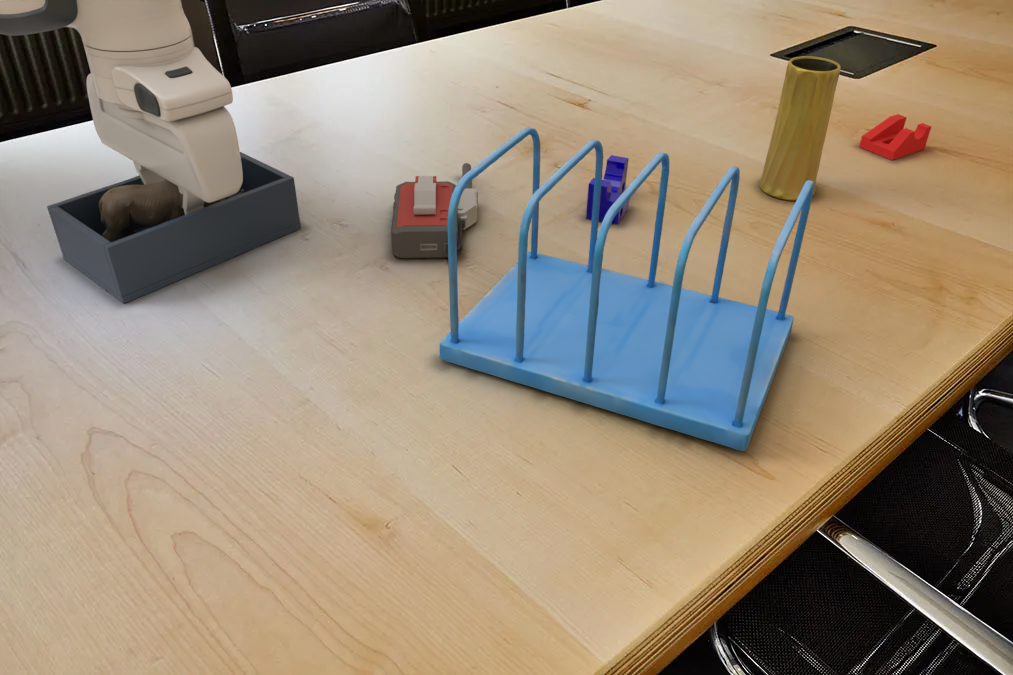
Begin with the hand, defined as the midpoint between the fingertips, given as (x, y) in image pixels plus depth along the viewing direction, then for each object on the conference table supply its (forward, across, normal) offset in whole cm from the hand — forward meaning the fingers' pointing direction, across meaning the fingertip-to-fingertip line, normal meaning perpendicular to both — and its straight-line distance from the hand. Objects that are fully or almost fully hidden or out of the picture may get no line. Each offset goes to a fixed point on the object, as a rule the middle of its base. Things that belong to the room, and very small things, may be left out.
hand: (178, 211), depth 83 cm
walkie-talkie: (+4, +14, +21) cm, 26 cm away
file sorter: (+4, +42, +15) cm, 45 cm away
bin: (+4, 0, 0) cm, 4 cm away
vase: (+3, +38, +53) cm, 65 cm away
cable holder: (+4, +26, +36) cm, 45 cm away
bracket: (+3, +42, +73) cm, 85 cm away
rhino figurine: (+2, 0, 0) cm, 2 cm away
